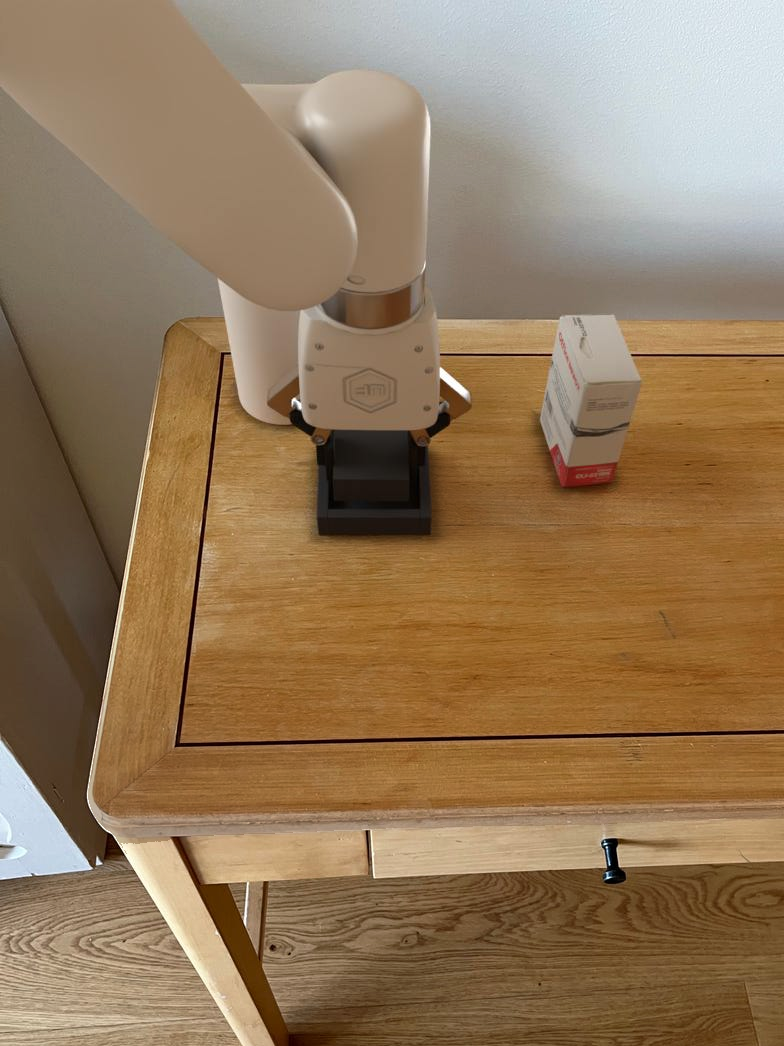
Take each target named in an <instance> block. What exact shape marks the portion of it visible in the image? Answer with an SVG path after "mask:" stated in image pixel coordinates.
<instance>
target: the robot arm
mask: <svg viewBox="0 0 784 1046" xmlns="http://www.w3.org/2000/svg"><path fill="white" fill-rule="evenodd" d="M0 88H1V89H2V90H3V91H4V92H5V93H6V94H7V95H8V96H9V97H10V98H11V99H12V100H13V101H14V102H15V103H16V104H17V105H19V107H20V108H21V109H22V110H23V111H25V112H26V113H27V114H28V115H29V116H30V117H31V118H32V119H34V121H35V122H36V123H37V124H39V125H40V127H43V128H44V129H45V130H46V131H47V132H48V133H50V135H52V136H53V137H54V138H55V139H57V140H58V141H59V142H60V143H61V144H62V145H64V147H66V148H67V149H68V150H69V151H70V152H72V154H74V156H76V157H77V158H78V159H80V161H82V162H83V163H84V164H85V165H86V166H88V167H89V169H90V170H91V171H93V172H94V174H96V175H97V176H98V177H99V178H100V179H102V181H103V182H105V183H106V184H107V185H108V186H109V187H110V188H111V189H112V190H113V191H114V192H115V193H117V194H118V195H119V196H120V197H121V198H122V199H123V200H124V201H125V202H126V203H128V205H129V206H130V207H132V208H133V209H134V210H135V211H136V212H137V213H138V214H139V215H141V216H142V217H143V218H144V219H145V220H146V221H147V222H148V223H149V224H151V226H153V227H154V228H155V229H156V230H157V231H158V232H159V233H161V234H162V235H163V236H164V237H165V238H166V239H168V240H169V241H170V242H171V243H172V244H174V245H175V246H176V247H177V248H179V250H181V251H182V252H183V253H185V254H186V255H187V256H189V257H190V258H191V259H192V260H194V261H195V262H196V263H198V264H199V265H201V266H202V267H203V268H204V269H206V271H208V272H210V273H211V275H213V276H214V277H216V278H217V280H218V279H220V280H221V281H222V282H224V283H225V284H226V285H227V286H229V287H230V288H231V289H233V290H234V291H236V292H237V293H238V294H240V295H241V296H242V297H244V298H245V299H247V300H249V301H251V302H253V303H254V304H257V305H260V306H262V307H265V308H267V309H272V310H277V311H299V310H301V311H300V318H299V331H298V365H297V366H296V367H295V368H293V369H292V370H291V371H290V372H289V373H288V374H286V375H285V376H284V377H283V378H282V379H280V380H279V381H278V382H277V383H276V384H275V385H273V386H272V387H271V388H270V389H269V390H268V398H267V405H268V406H269V407H270V408H272V409H273V410H275V411H276V412H278V413H279V414H281V415H282V416H284V417H287V418H289V419H290V422H291V423H292V424H291V425H293V426H295V427H296V428H297V429H299V430H300V431H302V432H303V433H305V434H306V435H308V436H309V437H310V442H311V443H312V444H313V445H315V449H316V450H315V452H316V453H315V454H316V464H317V466H318V467H319V466H326V478H327V481H333V465H335V429H336V430H407V447H408V466H409V480H410V482H416V478H417V466H425V456H426V446H427V445H428V446H429V445H430V443H431V439H432V438H433V437H434V436H436V435H438V434H439V433H440V432H442V431H444V430H445V429H446V428H448V427H449V426H450V425H451V422H452V421H453V420H457V419H459V418H460V417H462V416H463V415H464V414H466V413H467V412H469V411H470V410H471V409H472V407H473V404H472V394H471V392H470V391H468V389H467V388H466V387H464V386H463V385H462V384H461V383H460V382H458V380H456V379H455V378H454V377H453V376H451V374H449V373H448V372H447V371H446V370H445V369H443V368H442V367H441V345H440V332H439V323H438V316H437V315H438V314H437V310H436V306H435V301H434V297H433V293H432V291H431V289H430V288H429V287H428V286H427V284H426V265H427V263H426V260H427V239H428V213H429V186H430V164H431V163H430V161H431V141H432V140H431V134H432V133H431V117H430V116H431V115H430V112H429V109H428V106H427V103H426V101H425V100H424V98H423V96H422V95H421V94H420V92H419V91H418V90H417V89H416V88H414V87H413V86H412V85H411V84H410V83H408V82H406V81H405V80H404V79H402V78H400V77H398V76H395V75H392V74H390V73H387V72H383V71H378V70H371V69H349V70H342V71H338V72H334V73H331V74H329V75H326V76H325V77H323V78H322V79H319V80H318V81H316V82H314V83H298V84H297V83H296V84H276V83H275V84H273V83H272V84H271V83H270V84H269V83H268V84H266V83H265V84H263V83H262V84H261V83H240V82H239V81H238V80H237V79H236V77H235V76H234V75H233V73H231V71H230V70H229V69H228V68H227V67H226V65H225V64H224V63H223V62H222V61H221V59H220V58H219V57H218V56H217V55H216V53H215V52H214V51H213V50H212V49H211V48H210V47H209V45H208V44H207V43H206V42H205V40H204V38H202V37H201V35H200V34H199V33H198V32H197V31H196V29H195V28H194V27H193V25H192V23H190V22H189V20H188V19H187V18H186V16H185V15H184V14H183V13H182V11H181V10H180V9H179V8H178V6H177V5H176V3H175V2H174V1H173V0H0ZM298 394H300V400H296V398H295V397H296V396H297V395H298ZM440 397H441V398H442V399H443V401H440ZM313 404H314V405H313Z"/></svg>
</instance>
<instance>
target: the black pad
mask: <svg viewBox="0 0 784 1046" xmlns="http://www.w3.org/2000/svg"><path fill="white" fill-rule="evenodd" d="M333 487H334V501H409V466H408V447H407V430H336V429H335V465H333Z"/></svg>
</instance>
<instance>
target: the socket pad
mask: <svg viewBox="0 0 784 1046" xmlns="http://www.w3.org/2000/svg"><path fill="white" fill-rule="evenodd" d="M429 455H430V453H429V445H427V446H426V456H425V466H417V478H416V482H410V480H409V501H334V487H333V481H327V478H326V466H318V469H317V470H318V472H317V497H316V498H317V499H316V500H317V502H316V525H317V533H318V534H317V535H318V536H430V535H431V534H432V519H433V518H432V498H431V477H430V476H431V475H430V461H429V460H430V459H429V458H430V457H429Z"/></svg>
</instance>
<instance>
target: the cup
mask: <svg viewBox="0 0 784 1046" xmlns="http://www.w3.org/2000/svg"><path fill="white" fill-rule="evenodd" d="M217 282H218V287H219V288H218V289H219V293H220V294H219V295H220V298H221V299H220V300H221V305H222V309H223V310H222V311H223V316H224V321H225V327H226V333H227V338H228V344H229V350H230V355H231V360H232V366H233V371H234V377H235V382H236V383H235V384H236V389H237V394H238V399H239V402H240V404H241V406H242V408H243V409H244V411H246V412H247V414H248V415H250V416H251V417H252V418H254V419H256V420H258V421H261V422H263V423H266V424H271V425H276V426H277V425H278V426H279V425H280V426H289V425H293V424H292V423H291V422H290V419H289V418H287V417H284V416H282V415H281V414H279V413H278V412H276V411H275V410H273V409H272V408H270V407H269V406H268V405H267V398H268V390H269V389H270V388H271V387H272V386H273V385H275V384H276V383H277V382H278V381H279V380H280V379H282V378H283V377H284V376H285V375H286V374H288V373H289V372H290V371H291V370H292V369H293V368H295V367H296V366H297V365H298V331H299V318H300V311H301V310H299V311H277V310H272V309H267V308H265V307H262V306H260V305H257V304H254V303H253V302H251V301H249V300H247V299H245V298H244V297H242V296H241V295H240V294H238V293H237V292H236V291H234V290H233V289H231V288H230V287H229V286H227V285H226V284H225V283H224V282H222V281H221V280H220V279H218V278H217ZM295 398H296V400H300V394H298V395H297V396H296V397H295ZM313 405H314V404H313Z"/></svg>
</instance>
